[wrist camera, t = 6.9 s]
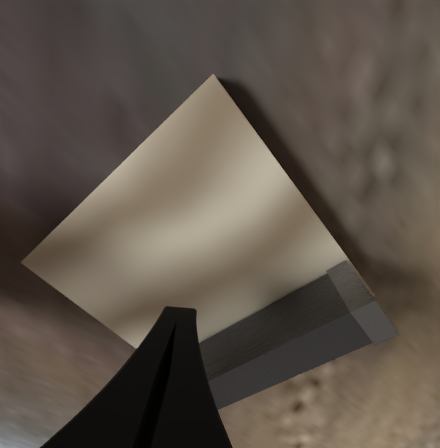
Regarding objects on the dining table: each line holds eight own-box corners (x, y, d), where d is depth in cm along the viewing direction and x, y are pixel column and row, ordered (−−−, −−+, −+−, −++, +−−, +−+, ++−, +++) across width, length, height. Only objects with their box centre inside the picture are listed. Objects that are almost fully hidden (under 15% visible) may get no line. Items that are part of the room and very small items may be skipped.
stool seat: (37, 249, 16) (-1, 278, 14) (215, 77, 12) (210, 68, 9) (194, 371, 21) (188, 411, 18) (363, 280, 16) (390, 314, 14)
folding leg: (186, 381, 19) (179, 430, 16) (160, 360, 18) (147, 409, 15) (366, 290, 15) (400, 335, 12) (344, 258, 14) (374, 298, 11)
